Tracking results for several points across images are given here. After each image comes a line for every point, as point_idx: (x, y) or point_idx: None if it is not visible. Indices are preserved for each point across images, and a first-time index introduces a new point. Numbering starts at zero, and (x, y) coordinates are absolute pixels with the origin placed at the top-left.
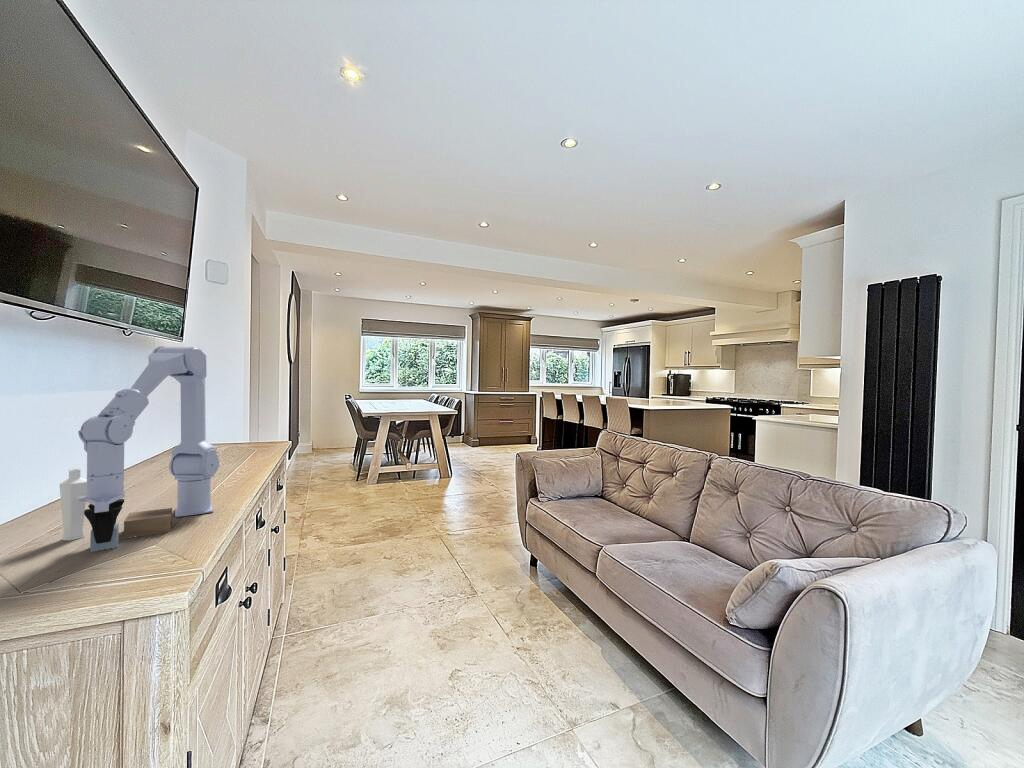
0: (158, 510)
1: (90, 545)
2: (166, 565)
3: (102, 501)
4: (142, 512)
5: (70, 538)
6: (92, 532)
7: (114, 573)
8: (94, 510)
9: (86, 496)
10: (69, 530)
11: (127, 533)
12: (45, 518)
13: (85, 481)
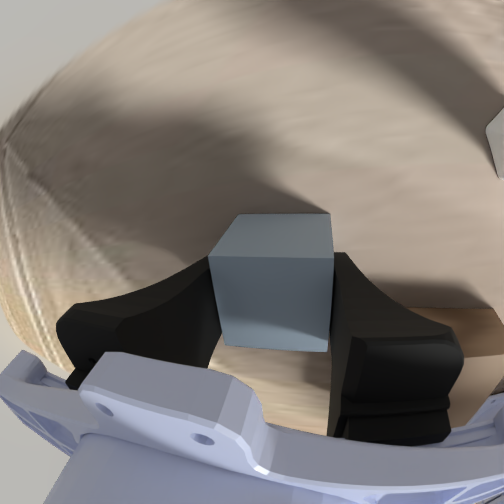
0: (460, 417)
1: (230, 225)
2: None
3: (20, 416)
4: (482, 387)
5: (491, 130)
6: (212, 261)
7: (48, 281)
8: (81, 362)
9: (141, 457)
10: None
11: None
12: None
13: None
